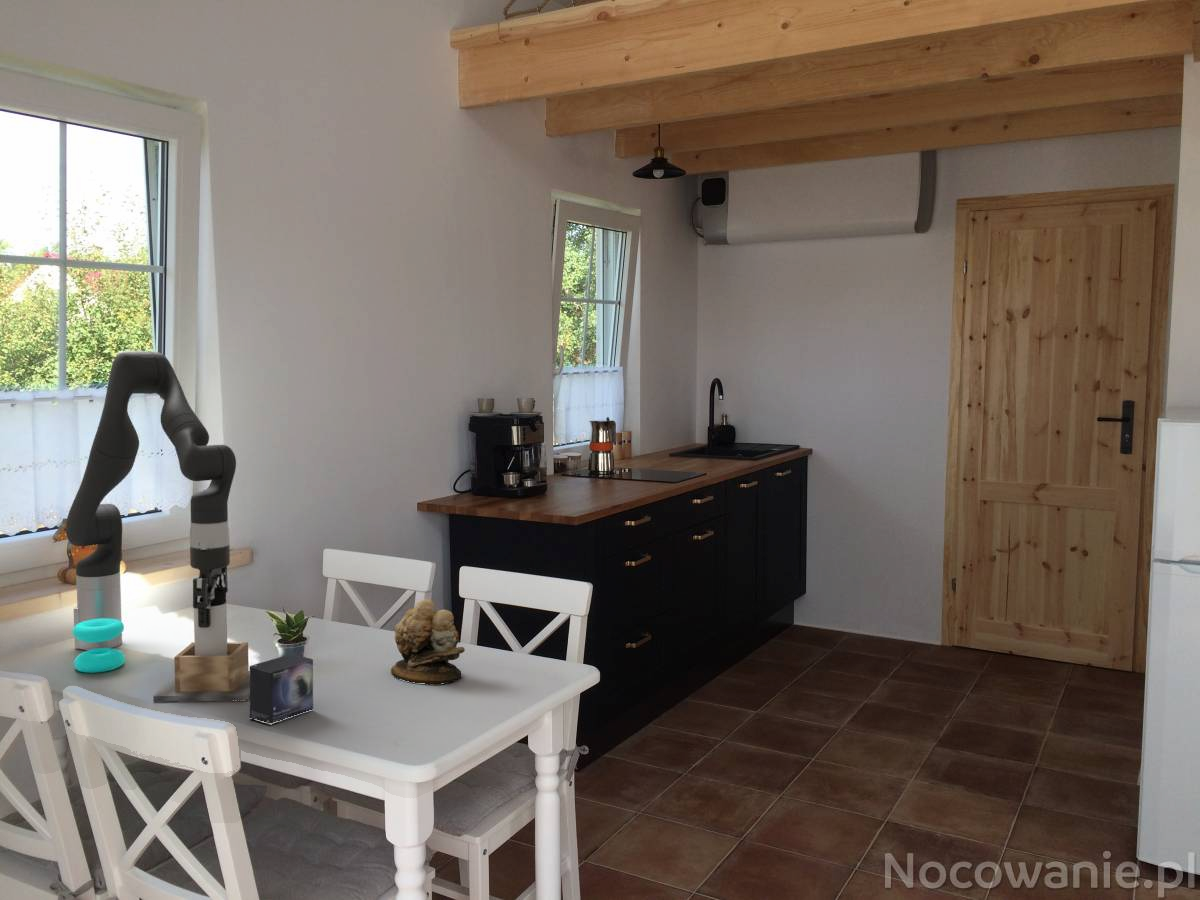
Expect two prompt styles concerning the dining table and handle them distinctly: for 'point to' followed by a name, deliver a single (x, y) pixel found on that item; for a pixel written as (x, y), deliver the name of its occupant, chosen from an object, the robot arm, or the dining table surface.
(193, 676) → the box
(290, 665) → the small box
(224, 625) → the travel mug
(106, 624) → the donuts
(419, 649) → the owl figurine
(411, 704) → the dining table surface
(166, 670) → the dining table surface
